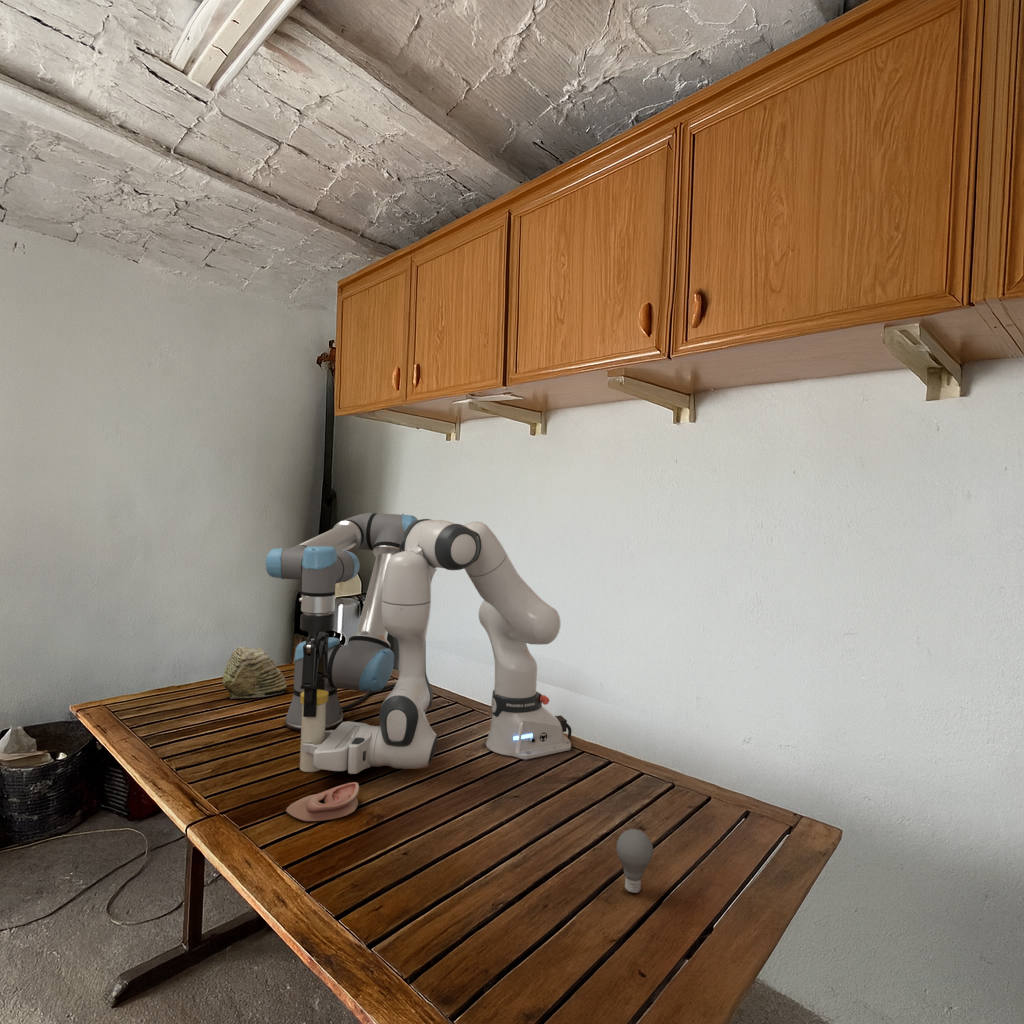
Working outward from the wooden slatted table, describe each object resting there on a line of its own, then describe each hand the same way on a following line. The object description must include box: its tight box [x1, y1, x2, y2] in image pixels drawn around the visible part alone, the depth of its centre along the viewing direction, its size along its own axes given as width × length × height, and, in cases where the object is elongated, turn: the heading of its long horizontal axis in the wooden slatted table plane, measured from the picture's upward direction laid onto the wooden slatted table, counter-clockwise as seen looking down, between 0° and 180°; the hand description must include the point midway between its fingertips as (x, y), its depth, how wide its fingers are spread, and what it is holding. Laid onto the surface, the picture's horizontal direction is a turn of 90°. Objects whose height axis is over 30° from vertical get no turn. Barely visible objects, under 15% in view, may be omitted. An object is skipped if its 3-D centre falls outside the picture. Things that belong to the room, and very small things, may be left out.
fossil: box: [222, 646, 288, 699], centre depth 198 cm, size 9×18×15 cm, turn 132°
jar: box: [299, 703, 326, 773], centre depth 148 cm, size 5×5×17 cm
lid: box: [300, 689, 329, 705], centre depth 148 cm, size 6×6×2 cm
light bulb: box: [615, 828, 654, 894], centre depth 106 cm, size 6×6×10 cm
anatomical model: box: [285, 781, 360, 822], centre depth 129 cm, size 13×4×12 cm
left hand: (313, 711), depth 148 cm, fingers closed on lid, 6 cm apart
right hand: (308, 741), depth 148 cm, fingers closed on jar, 5 cm apart
